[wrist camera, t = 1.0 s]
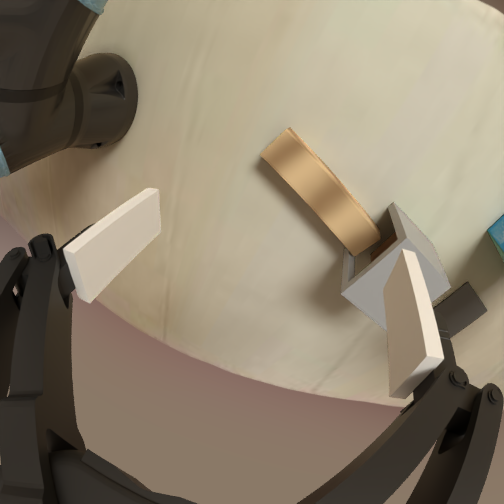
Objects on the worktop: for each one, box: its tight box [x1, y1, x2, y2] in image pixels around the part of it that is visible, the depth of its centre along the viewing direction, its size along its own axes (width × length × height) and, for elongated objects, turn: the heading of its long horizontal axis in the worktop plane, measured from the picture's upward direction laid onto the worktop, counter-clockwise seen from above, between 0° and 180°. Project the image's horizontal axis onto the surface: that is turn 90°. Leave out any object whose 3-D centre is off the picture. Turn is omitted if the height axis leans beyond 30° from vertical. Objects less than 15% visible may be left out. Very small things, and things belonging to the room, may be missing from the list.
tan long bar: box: [260, 128, 381, 257], centre depth 31 cm, size 16×4×3 cm, turn 46°
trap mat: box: [433, 282, 487, 338], centre depth 34 cm, size 8×10×1 cm
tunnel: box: [341, 202, 451, 332], centre depth 29 cm, size 8×9×9 cm
